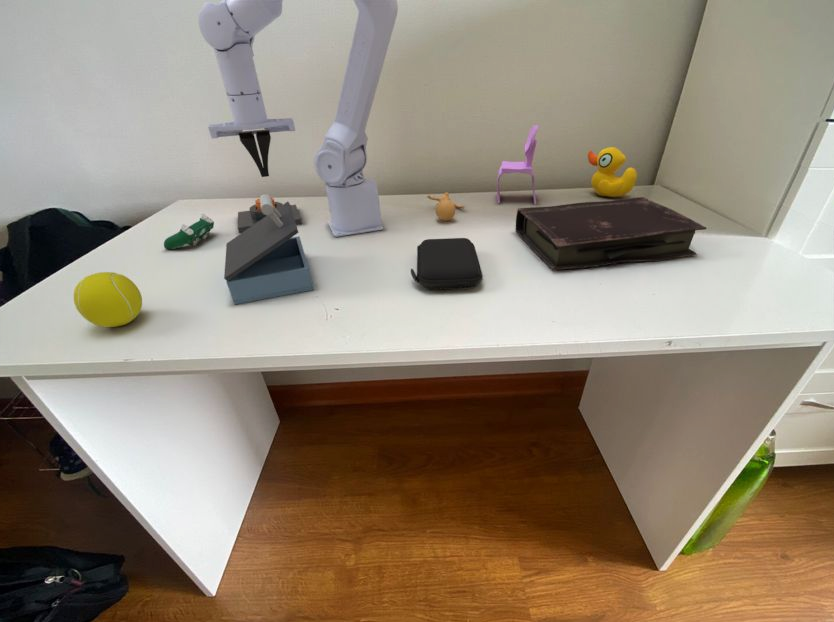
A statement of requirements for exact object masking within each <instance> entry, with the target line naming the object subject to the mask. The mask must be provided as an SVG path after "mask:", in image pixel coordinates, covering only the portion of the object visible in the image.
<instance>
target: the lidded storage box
mask: <svg viewBox="0 0 834 622" xmlns="http://www.w3.org/2000/svg"><path fill="white" fill-rule="evenodd" d="M308 263H309V262H308V260H307V257H306V253H305V250H304V247H303V243H302V241H301V237H300V236H298V235H297V236H293V237H291V238H290V239H288V240H287V241H286V242H284V243H283V244H281V245H280V246H278V247H277V248H275V249H274V250H272V251H271V252H269V253H268V254H267V255H265V256H264V257H262V258H261V259H259V260H258V261H256V262H255V263H253V264H252V265H250V266H249V267H247V268H246V269H245V270H243V271H242V272H240V273H239V274H237V275H236V276H234V277H233V278H231V279H230V280H228V281H226V285H227V287H228V291H229V293H230V296H231V299H232V302H233V304H234V305H240V304H245V303H246V304H247V303H250V302H251V303H252V302H256V301H261V300H267V299H273V298H278V297H282V296H284V297H285V296H288V295H294V294H299V293H303V292H304V293H305V292H311V291H314V284H313V280H312V276H311V270H310V266H309V264H308Z"/></svg>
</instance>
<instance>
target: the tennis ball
mask: <svg viewBox="0 0 834 622" xmlns="http://www.w3.org/2000/svg"><path fill="white" fill-rule="evenodd" d="M73 303H74V305H75V308H76V310H77V311H78V313H79V314H80V315H81V316H82V317H83V319H85V320H86V321H88V322H90V323H91V324H93V325H96V326H99V327H102V328H103V327H104V328H114V327H115V328H116V327H121V326H125V325H127V324H129V323H131V322H132V321H134V320H135V319H136V317H138V315H139V314H140V313H141V311H142V307H143V297H142V293H141V290H140V289H139V287H138V286H137V285H136V284H135V282H134V281H133V280H131V279H130V278H129V277H127V276H125V275H124V274H121V273H116V272H112V271H103V272H102V271H101V272H96V273H92V274H89V275H87V276H85V277H84V278H82V279H81V280H80V281H78V283H77V284H76V286H75V288H74V291H73Z"/></svg>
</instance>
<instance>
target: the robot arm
mask: <svg viewBox="0 0 834 622" xmlns="http://www.w3.org/2000/svg"><path fill="white" fill-rule="evenodd" d="M283 1H284V0H220V2H219V3H215V2H210V1H209V2H205V3H204V4H203V5H202V7H201V9H200V10H199V13H198V19H197V21H198V27H199V30H200V33H201V35H202V37H203V39H204V40H205V42H206V43H207V44H208V45H209V46H211V47H212V48H213V51H214V55H215V58H216V62H217V66H218V69H219V73H220V76H221V80H222V83H223V88H224V91H225V94H226V98H227V102H228V104H229V109H230V111H231V115H232V118H233V121H230V122H221V123H213V124H208V126H207V128H208V132H209V134H210V137H211V138H210V139H219V138H225V137H226V138H227V137H237V136H238V137H239V141H240V143H241V144H242V145H243V146H244V148H245V150H246V151H247V152H248V154H249V155H250V157H251V158H252V160H253V161H254V163H255V165H256V167H257V169H258V171H259V173H260V176H261V178H266V177H267V178H268V177H270V174H269V173H270V172H269V152H270V147H271V146H270V145H271V139H272V136H271V133H280V132H281V133H282V132H296V127H295V121H294V118H292V117H289V118H268V116H267V111H266V107H265V102H264V99H263V94H262V90H261V86H260V82H259V78H258V77H259V76H258V73H257V70H256V65H255V60H254V57H255V55H254V50H253V46H254V45H253V44H254V42H255V36H256V35H258V34H259V33H260V32H262V31H263V30H264V29H265V28H266V27H268V26H269V25H270V24H272V23H273V22H274V21H276V20H277V19H278V18H279V17H281V15H282V13H283ZM353 1H354V5H355V6H356V8H357V11H358V15H357V19H356V24H355V28H354V32H353V37H352V41H351V46H350V50H349V53H348V54H349V55H348V58H347V64H346V67H345V72H344V76H343V81H342V85H341V89H340V93H339V98H338V103H337V107H336V112H335V115H334V121H333V123H332V124H331V126H330V127H329V129H328V131H327V132H326V133H325V136H324V138H323V142H322V145H321V146H320V148H319V149H318V150H317V151H316V152H315V155H314V159H313V165H314V169H315V172H316V174H317V176H318V177H319V179H320V180H322V181H323V183H324V186H325V190H326V196H327V202H328V207H329V213H330V214H329V215H330V220H329V221H327V224H328V226H329V229H330V231H331V232H332V235H333V236H334V237H335V238H337V237H345V236H351V235H357V234H358V235H359V234H365V233H370V232H377V231H382V230H383V229H384V227H383V225H382V224H383V223H382V215H381V214H382V213H381V205H380V204H381V203H380V195H379V190H378V185H377V183H376V180H375V179H374V178H373V177H370V178H366V177H365V176H364V168H365V167H366V166H367V161H368V153H367V144H368V141H369V138H368V135H367V133H366V128H367V125H368V121H369V117H370V114H371V110H372V107H373V103H374V100H375V96H376V92H377V89H378V85H379V81H380V77H381V74H382V71H383V68H384V64H385V60H386V57H387V52H388V49H389V45H390V42H391V39H392V35H393V31H394V28H395V24H396V20H397V16H398V10H399V9H398V0H353ZM259 153H260V154H259ZM260 156H261V157H260Z"/></svg>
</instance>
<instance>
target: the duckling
mask: <svg viewBox="0 0 834 622" xmlns="http://www.w3.org/2000/svg"><path fill="white" fill-rule="evenodd" d="M597 154H598V155H597ZM597 154H595V153H594V152H593V150H589V151H588V153H587V161H588V162H589V164H590V165H592V166H593V167H594V166H595V167H597V169H598V170H597V171H596V172H595V173H594V174H593V175H592V177H591V187H592V189H593V190H594V191H595V193H596V194H597V195H599V196H601V197H607V198H617V197H623V196H625V195H627V194H629V193H630V192H631V191H632V190H633V188H634V187H635V184H636V181H637V178H638V174H637V171H636V169H635V168H634V167H628V168H626V170H625V171H624V173H623V174H622V176H617V175H616V174H615V172H617V171H618V170H619V169H621V168H620V167H622V166H623V165H624V164H625V162H626V160H627V157H626V155H625V154H624V153H622V151H621V150H620V149H619V148H617V147H614V146H610V147H606V148H603V149H602V150H600V151H599V153H597Z"/></svg>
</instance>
